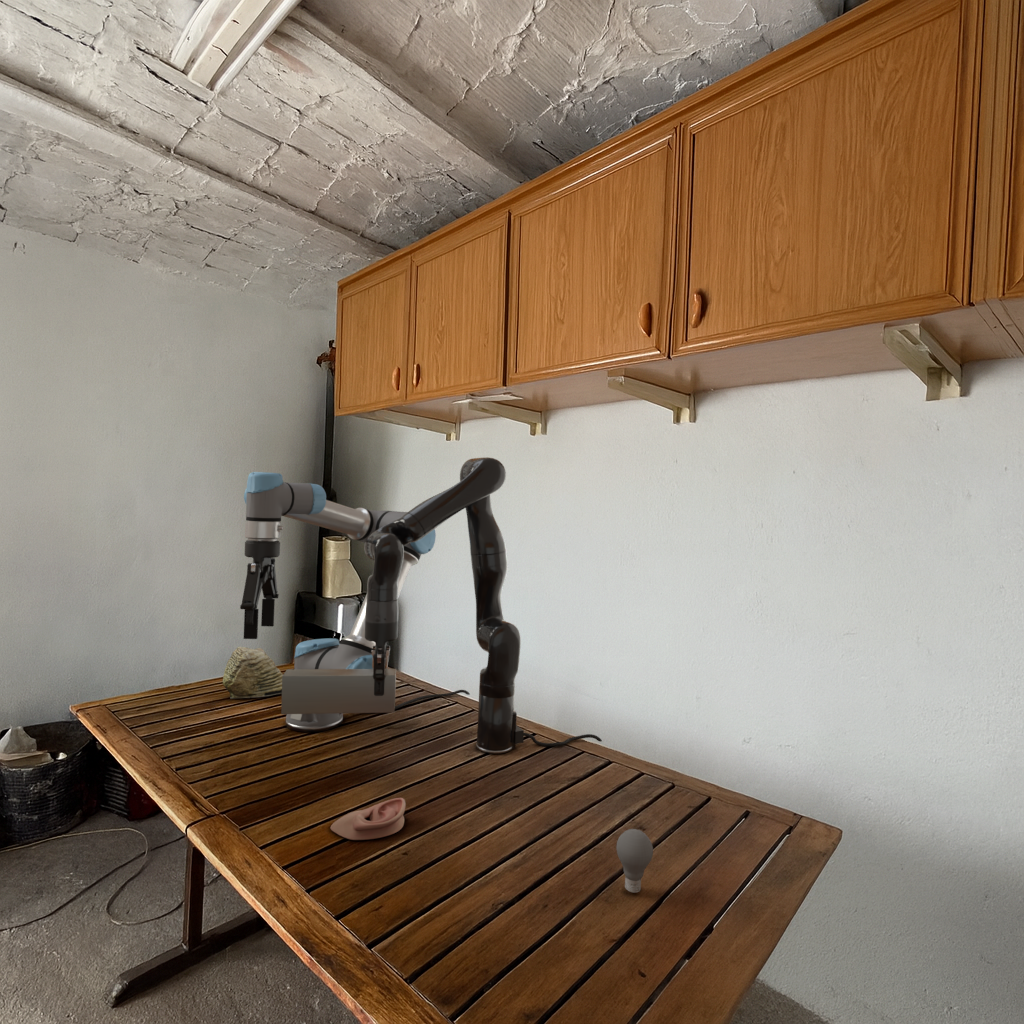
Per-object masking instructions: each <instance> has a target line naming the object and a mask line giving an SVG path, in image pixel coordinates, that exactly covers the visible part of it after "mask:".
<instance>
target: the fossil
mask: <svg viewBox="0 0 1024 1024" xmlns="http://www.w3.org/2000/svg"><path fill="white" fill-rule="evenodd" d="M222 676H223V677H222V685H223V687H224V688H225V690H226V691H228V693H229V698H230V699H250V698H264V697H271V696H275V695H281V694H282V676H283V673H282V672H281V669H279V668H278V667H277V665H276V663H275V662H274V660H273V659H272V658H271V657H270V656H269V655H268V654H267V653H266V652H265V650H264V649H263V648H260V647H258V648H251V647H247V646H246V647H245V646H238V647H237V648H236V649H235V650H233V651H232V653H231V656H230V657H229V659H228V660H227V663H226V666H225V668H224V671H223V675H222Z"/></svg>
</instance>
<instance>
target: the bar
mask: <svg viewBox="0 0 1024 1024" xmlns="http://www.w3.org/2000/svg"><path fill="white" fill-rule="evenodd" d="M376 673H382V670H377V671H376ZM282 675H283V676H282V693H281V707H280V708H281V712H280V715H287V714H332V713H343V714H387V713H388V714H389V713H392V714H393V713H395V711H396V709H395V706H396V692H397V691H396V690H397V688H396V687H397V686H396V685H397V668H387V669H386V670H385V676H386V678H385V679H384V695H383V696H375V695H374V679H373V669H289V668H288V669H286V670H285V672H284V673H282Z"/></svg>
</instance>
